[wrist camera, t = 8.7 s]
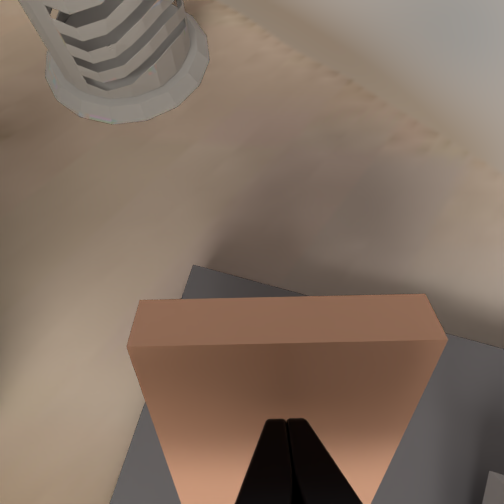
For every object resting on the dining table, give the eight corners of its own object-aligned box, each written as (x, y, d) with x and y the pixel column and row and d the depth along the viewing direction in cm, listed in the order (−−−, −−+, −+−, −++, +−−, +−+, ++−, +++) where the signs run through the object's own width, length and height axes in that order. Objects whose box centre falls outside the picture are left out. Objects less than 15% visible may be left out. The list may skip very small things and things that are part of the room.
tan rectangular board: (364, 518, 13) (448, 339, 7) (187, 522, 13) (126, 346, 7) (356, 479, 14) (425, 293, 8) (191, 483, 14) (139, 300, 8)
